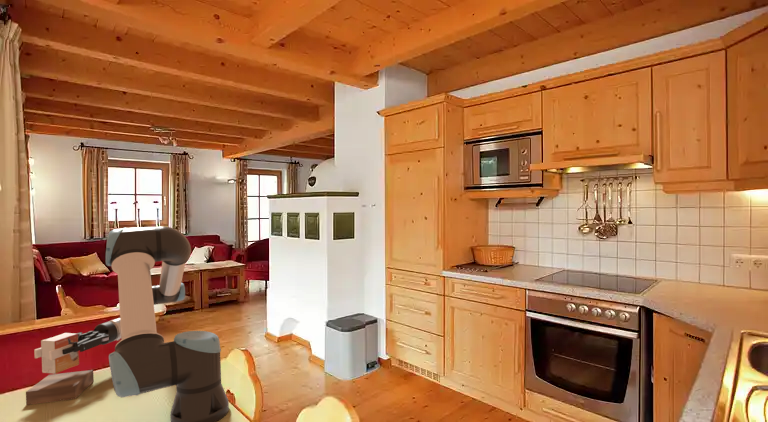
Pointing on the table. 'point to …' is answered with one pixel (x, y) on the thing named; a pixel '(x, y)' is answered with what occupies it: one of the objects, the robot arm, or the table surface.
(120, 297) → the robot arm
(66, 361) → the small box
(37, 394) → the walnut riser
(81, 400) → the table surface
